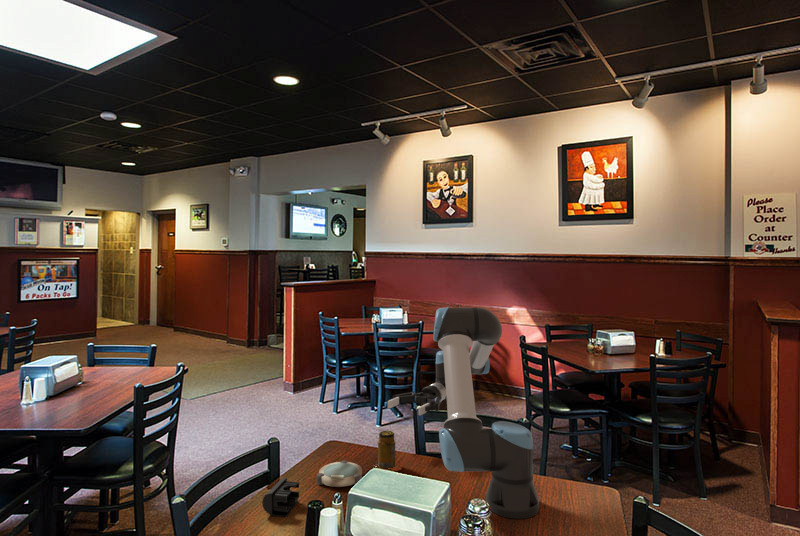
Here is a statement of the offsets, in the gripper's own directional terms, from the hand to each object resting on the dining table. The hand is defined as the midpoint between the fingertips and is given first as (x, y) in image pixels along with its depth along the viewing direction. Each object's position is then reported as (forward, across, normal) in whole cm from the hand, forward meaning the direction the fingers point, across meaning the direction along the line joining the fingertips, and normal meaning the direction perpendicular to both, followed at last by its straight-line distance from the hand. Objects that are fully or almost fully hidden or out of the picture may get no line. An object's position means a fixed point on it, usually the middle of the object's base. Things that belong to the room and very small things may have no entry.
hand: (403, 408), depth 170 cm
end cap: (+49, +10, -18) cm, 53 cm away
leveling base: (+26, +8, -18) cm, 32 cm away
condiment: (+10, 0, -18) cm, 21 cm away
